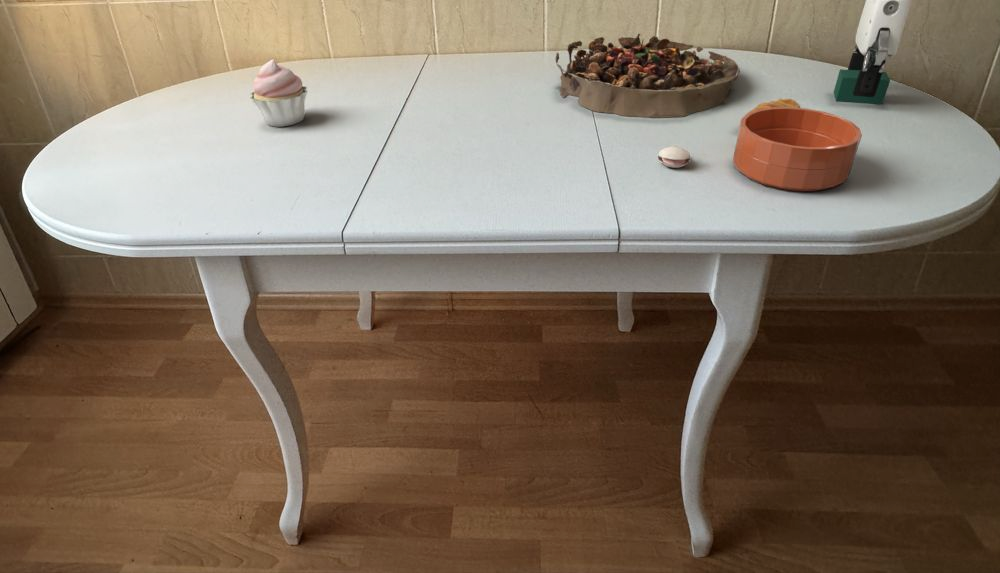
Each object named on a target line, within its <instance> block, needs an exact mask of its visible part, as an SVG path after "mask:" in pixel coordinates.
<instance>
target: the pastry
mask: <svg viewBox="0 0 1000 573" xmlns="http://www.w3.org/2000/svg"><path fill="white" fill-rule="evenodd" d="M775 107H793V108H801V105H800V104H799V103H798V102H797V101H796V100H794V99H792V98H778V99H777V100H771V101H769V102H762V103H759V104H758V105H757V106H755V108H753V109H751V110H749V111H748V112H747V113H750V112H753V111H755V110H759V109H766V108H775Z"/></svg>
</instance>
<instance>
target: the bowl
mask: <svg viewBox="0 0 1000 573" xmlns="http://www.w3.org/2000/svg"><path fill="white" fill-rule="evenodd" d="M749 112H750V111H749ZM737 132H738V133H737V136H736V141H735V147H734V152H733V165H734V166H735V168H736V169H737V170H738V171H739V172H740V173H741V174H743V175H744V176H745V177H747V178H748V179H750V180H752V181H754V182H756V183H758V184H761V185H764V186H767V187H770V188H775V189H779V190H786V191H793V192H815V191H816V192H817V191H821V190H822V191H823V190H826V189H830V188H833V187H836V186H838V185H841V184H842V183H845V182H846V181H847V179H848V177H849V176H850V174H851V171H852V169H853V168H852V167H853V165H854V161H855V159H856V155H857V152H858V149H859V146H860V143H861V140H862V136H863V134H862V131H861V129H860V127H859V126H857V125H856V124H855V123H854V122H852V121H850V120H848V119H846V118H844V117H842V116H840V115H836V114H833V113H830V112H826V111H822V110H816V109H810V108H804V107H800V108H793V107H775V108H766V109H759V110H755V111H753V112H750V113H748V112H747V113H746V114H744V116H743V117H741V119H740V122H739V128H738V131H737Z"/></svg>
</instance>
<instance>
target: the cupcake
mask: <svg viewBox="0 0 1000 573" xmlns="http://www.w3.org/2000/svg"><path fill="white" fill-rule="evenodd" d="M307 95H308V87H307V86H303V81H302V79H301V77H299V76H298V75H296V74H295V73H294V72H293V71H292V70H291V69H290V68H287V67H285V66H282V65H279V64H278V63H277V62H276V61H275V60H274V59H271V60H269V61H267V62H266V63H264V64H263V65H262V66H261V68H260V70H259V72H258V75H257V76H256V77H255V78H254V81H253V91H252V92H251V93H250V97H249V99H250V100H251V101H252V102H253V104H254V105H255V106H256V107H257V110H258V111H259V113H260V114H261V116H262V118H263V120H264V122H265V123H266V125H268V126H270V127H276V128H277V127H290V126H293V125H296V124H299V123H300V122H302V121H304V118H305V112H306V110H305V102H306V98H307Z"/></svg>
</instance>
